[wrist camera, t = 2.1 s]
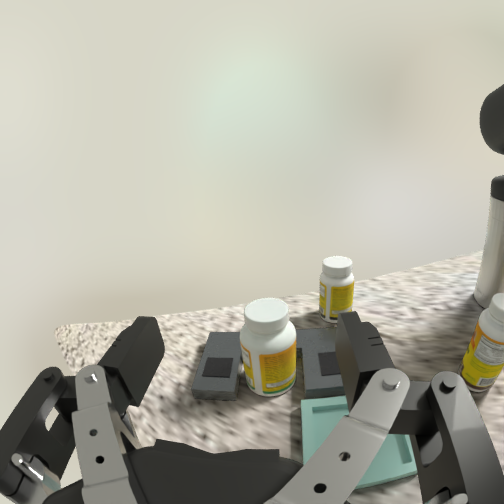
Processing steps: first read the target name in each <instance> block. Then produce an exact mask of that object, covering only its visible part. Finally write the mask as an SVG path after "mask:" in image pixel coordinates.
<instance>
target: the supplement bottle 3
mask: <svg viewBox="0 0 504 504" xmlns="http://www.w3.org/2000/svg"><path fill="white" fill-rule="evenodd" d="M503 366H504V293H497V294H495V295H494V296H493V298H492V300H491V303H490V305H489V308H487V309H485V310H484V311H483V312H482V313H481V315H480V317H479V320H478V322H477V325H476V328H475V331H474V333H473V336H472V339H471V341H470V344H469V346H468V349H467V351H466V353H465V356H464V358H463V360H462V362H461V365H460V367H459V376H461V377H462V379H463V380H464V382H465V384H466V386H467V388H468V389H469V390H471V391H475V392H483V391H486V390H488V389H489V388H490V387H491V386H492V385H493V384H494V382H495V381H496V379H497V377H498V375H499V374H500V372H501V370H502V368H503Z"/></svg>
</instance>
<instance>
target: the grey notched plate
mask: <svg viewBox="0 0 504 504" xmlns="http://www.w3.org/2000/svg"><path fill="white" fill-rule="evenodd" d="M336 330H337V327H327V328H315V329H301V330H296V358H300V357H302V367H303V378H304V391H305V399H313V398H324V397H334V396H342V395H345V391H344V387H343V382H342V378H341V374H340V369H339V365H338V361H337V357H336V351H335V340H336ZM242 362H243V357H242V351H241V344H240V332H210V334H209V337H208V340H207V343H206V346H205V349H204V352H203V355H202V358H201V361H200V364H199V367H198V370H197V373H196V376H195V379H194V382H193V385H192V388H191V390H192V392H193V395H194V398H197V399H211V400H233V401H236V400H237V394H238V388H239V381H240V375H241V369H242Z"/></svg>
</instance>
